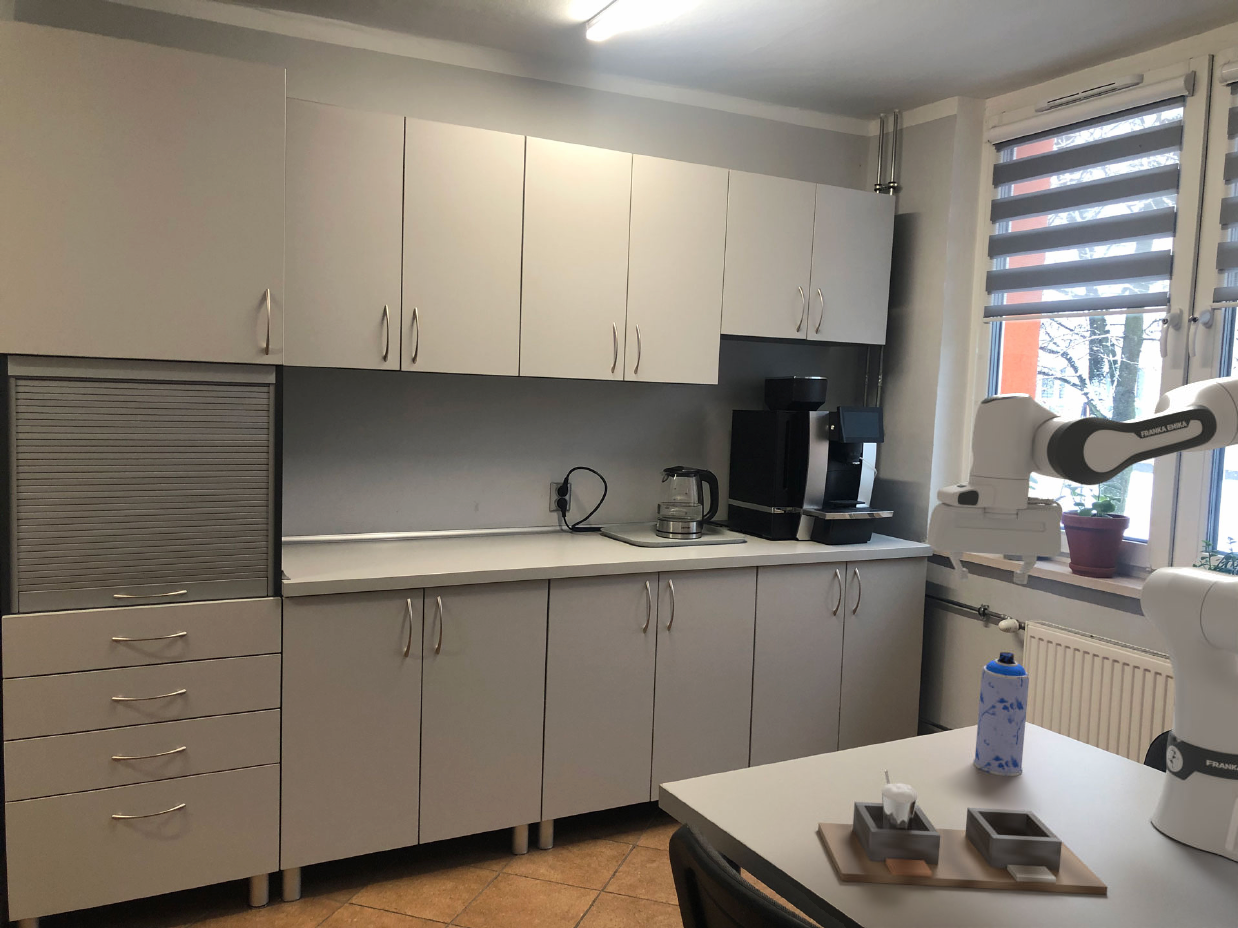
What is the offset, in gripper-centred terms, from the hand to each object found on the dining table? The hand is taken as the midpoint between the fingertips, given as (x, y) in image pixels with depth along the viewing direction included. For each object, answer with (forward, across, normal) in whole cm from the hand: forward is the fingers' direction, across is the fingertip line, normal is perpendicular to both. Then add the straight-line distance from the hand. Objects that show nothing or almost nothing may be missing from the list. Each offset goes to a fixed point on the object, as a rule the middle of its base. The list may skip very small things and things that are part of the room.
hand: (990, 581), depth 145 cm
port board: (+34, +12, +24) cm, 43 cm away
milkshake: (+33, +20, +24) cm, 46 cm away
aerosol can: (+34, -8, -10) cm, 37 cm away
